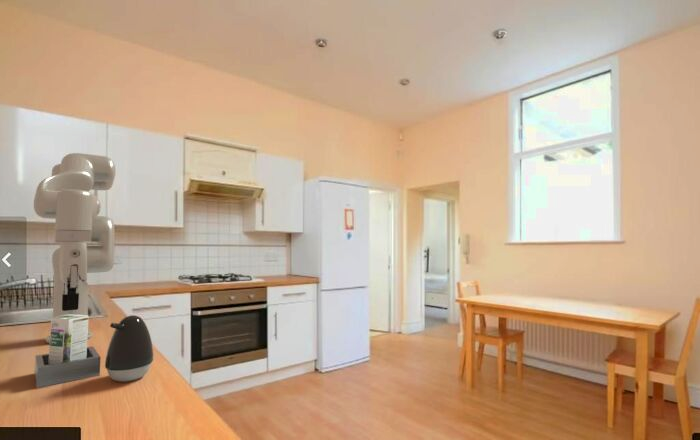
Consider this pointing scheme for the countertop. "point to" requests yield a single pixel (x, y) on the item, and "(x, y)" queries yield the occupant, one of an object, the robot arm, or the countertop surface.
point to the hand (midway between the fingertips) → (70, 309)
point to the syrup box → (68, 338)
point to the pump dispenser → (129, 350)
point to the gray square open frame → (66, 369)
